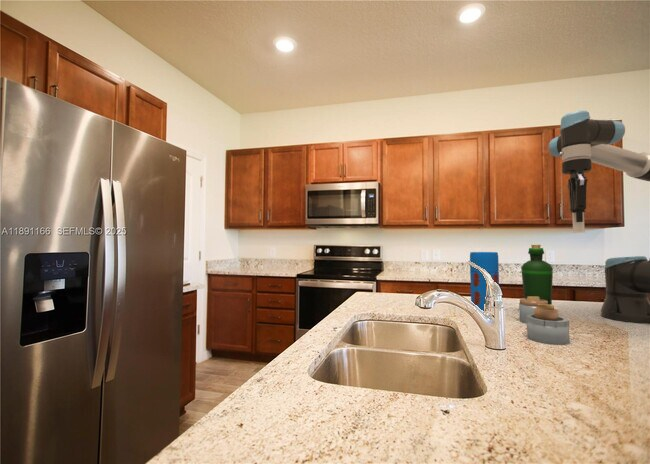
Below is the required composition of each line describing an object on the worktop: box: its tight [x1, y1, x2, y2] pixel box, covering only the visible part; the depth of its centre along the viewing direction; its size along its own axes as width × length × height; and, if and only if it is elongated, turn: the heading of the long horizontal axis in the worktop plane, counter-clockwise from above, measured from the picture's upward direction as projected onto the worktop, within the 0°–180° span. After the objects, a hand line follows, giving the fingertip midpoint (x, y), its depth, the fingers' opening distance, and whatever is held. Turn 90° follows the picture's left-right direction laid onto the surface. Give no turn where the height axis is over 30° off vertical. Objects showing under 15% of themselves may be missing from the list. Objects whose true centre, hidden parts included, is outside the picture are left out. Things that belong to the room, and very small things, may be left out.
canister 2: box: [526, 314, 571, 346], centre depth 97 cm, size 11×11×6 cm
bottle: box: [520, 244, 554, 305], centre depth 129 cm, size 11×11×28 cm
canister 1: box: [518, 296, 548, 324], centre depth 117 cm, size 9×9×9 cm
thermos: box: [469, 251, 500, 311], centre depth 135 cm, size 11×11×25 cm
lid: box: [534, 304, 559, 321], centre depth 97 cm, size 6×6×5 cm
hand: (578, 232), depth 104 cm, fingers closed
